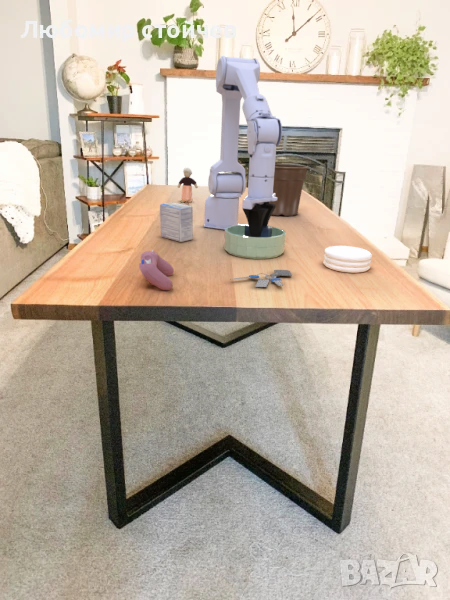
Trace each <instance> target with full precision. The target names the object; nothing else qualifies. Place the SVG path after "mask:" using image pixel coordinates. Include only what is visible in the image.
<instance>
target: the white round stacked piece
mask: <svg viewBox="0 0 450 600" xmlns="http://www.w3.org/2000/svg"><path fill="white" fill-rule="evenodd" d="M323 253H324V255H323V261H322V262H323V265H324V267H326V268H328V269H330V270H333V271H337V272H341V273H349V274H350V273H353V274H356V273H357V274H359V273H363V272H367V271H369V270H370V268H371V264H372V258H373V254H372V253H371V252H370V251H369V250H367V249H366V248H365V249H364V248H362V247H357V246H351V245H331V246H328V247H326V248H325V249H324V252H323Z"/></svg>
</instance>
